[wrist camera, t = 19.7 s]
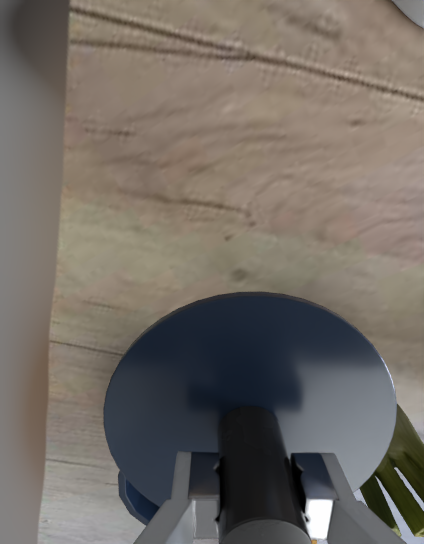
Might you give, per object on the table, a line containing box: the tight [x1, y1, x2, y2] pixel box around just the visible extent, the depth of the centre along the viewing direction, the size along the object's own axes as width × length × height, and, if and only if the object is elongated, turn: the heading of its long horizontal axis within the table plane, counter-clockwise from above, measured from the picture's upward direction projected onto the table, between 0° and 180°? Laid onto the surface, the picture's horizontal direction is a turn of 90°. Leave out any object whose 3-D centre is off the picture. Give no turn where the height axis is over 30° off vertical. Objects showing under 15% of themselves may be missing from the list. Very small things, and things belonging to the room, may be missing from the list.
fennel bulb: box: [360, 402, 424, 537], centre depth 22 cm, size 6×5×12 cm
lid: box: [104, 292, 397, 544], centre depth 10 cm, size 12×12×5 cm
